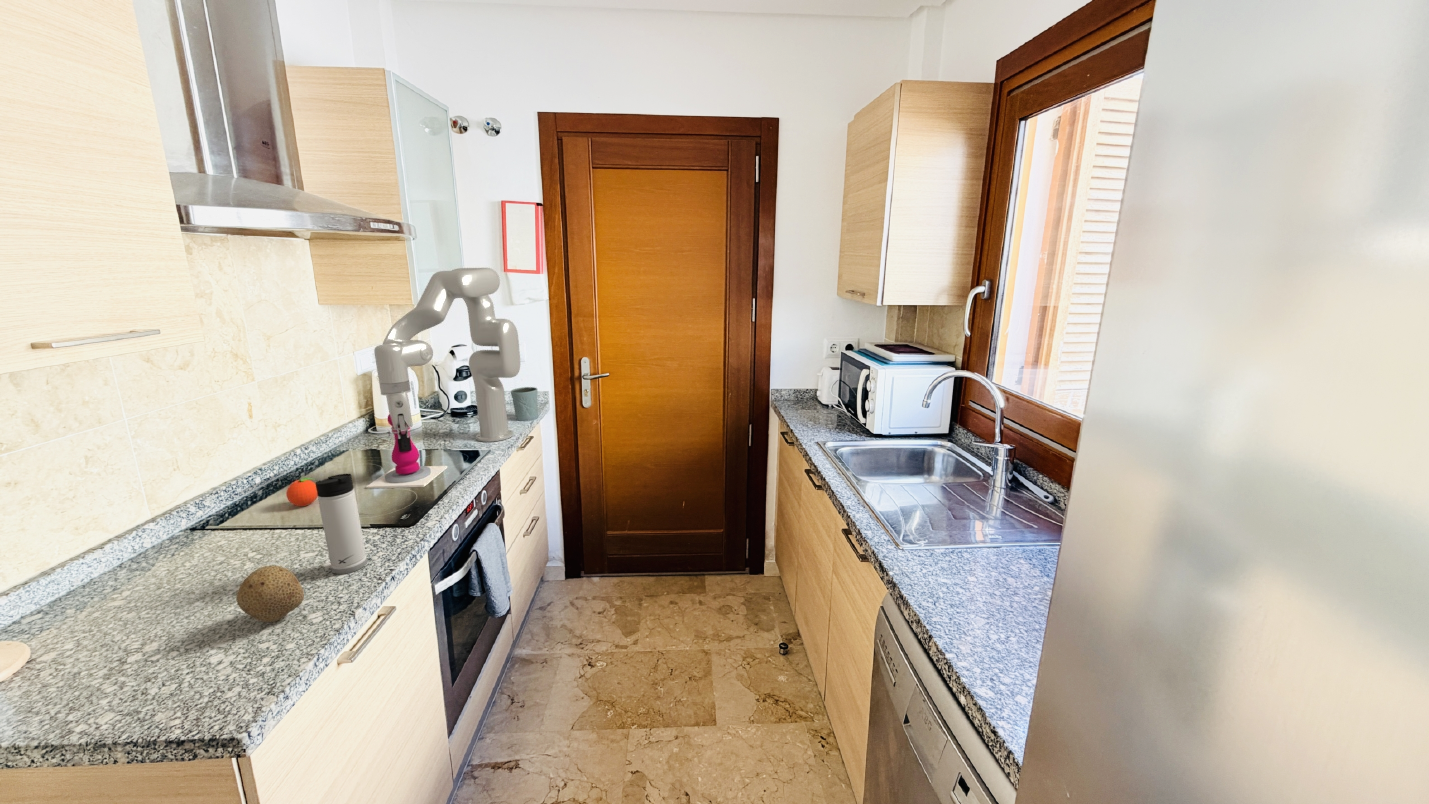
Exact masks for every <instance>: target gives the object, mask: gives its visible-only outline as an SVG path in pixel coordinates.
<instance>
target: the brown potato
mask: <svg viewBox="0 0 1429 804" xmlns="http://www.w3.org/2000/svg"><path fill="white" fill-rule="evenodd" d="M304 592H305V591H304V590H303V587H302V584H301V583H300V581H299V580H298V578H297V577H296V575H295V574H294V573H293V572H292V571H291V570H289V569H288V568H286V567H284V566H279V565H278V566H277V565H264V566H262V567H259V568H257V569H255V570H254V571H252V572H251V573H250V574H249V575H247V577H245V579H244V580H243V581H242V582H241V584H240V585H239V587H238V590H237V592H236V593H237V594H236V603H237V606H238V607H239V608H240V609H241V611H242V612H244V613H245V614H246V615H248V616H250V617H251V618H253V619H255V620H257V621H259V622H263V623H274V622H277V621H280V620H282V619H283V618H285V617H286V616H287V615H288V614H289V613H291V612H292V611H294V610H295V609H297V608H298V607H299V606H301V604H302V603H303V601H304V599H305V597H304V596H305V593H304Z"/></svg>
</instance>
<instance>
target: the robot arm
mask: <svg viewBox="0 0 1429 804" xmlns="http://www.w3.org/2000/svg"><path fill="white" fill-rule="evenodd" d="M499 276H500V275H499V274H498V272H497V271H496V270H495V269H493V268H490V267H459V268H454V269H452V270H440V271H437V272H434V273H433V274H432V276H431V277H430V279H429V280H428V282H427V285H426V287H425V289H424V291H423V292H422V294H421V297H420V298H419V300H418V302H417V304H416V305H415V307H413V309H412V310H410V311H408V312H407V313H406V314H405V315H403V316H401V318H399V319H398V320H396V322H395V323H394V324H393V325H392V326H391V327H390V329H389V331H388V332H387V334H386V336H385V338H384V340H383V342H382V344H379V345H376V346H375V347H374V349H373V352H374V359H375V365H376V370H377V371H376V372H377V376H378V378H377V379H378V383H379V391H380V395H381V396H386V402H387V408H388V415H389V414H390V417H391V420H392V424H393V427H394V428H395V429H397V434H398V439H397V440H398V447H399V452H406V451H411V450H412V447H411V441H410V438H411V436H410V437H409V433H408V427H407V425H408V426H410V428H412V427H413V425H414V424H413V418H412V413H411V408H410V407H411V406H410V400H409V396H408V393H410V392H411V391H412V390H411V382H410V378H409V369H408V368H409V367H420V366H425V365H427V364H429V363H430V362H431V360H433V359H432V358H433V356H434V350H433V347H432V346H431V345H430V344H429V342H428V341H427V342H426V341H423V340H418V339H413V338H415V336H416V335H418V334H420V333H421V332H423V331H426V330H428V329H432V328H433V327H436V326H438V325H440V324H442V322H444V321H445V320H446V317H447V315H448V312H449V311H450V309H451V307H452V305H453V302H454V301H455V299H462V300H463V302H464V303H465V305H466V308H467V315H468V322H469V323H468V326H469V332H470V338H471V342H472V343H473V344H474V345H476V346H481V347H498V350H497V349H480V350H476V351H474V352H472V354H471V355H470V356H469V359H468V366H469V371H470V373H471V376H472V380H473V385H474V391H475V400H476V408H477V417H478V418H477V419H478V424H479V426H478V427H479V433H478V434H476V435H475V439H476V441H479V442H485V443H488V442H489V443H490V442H499V441H504V440H508V439H510V438H511V437H513V436H514V432H513V430H510V429H509V421H508V417H507V416H508V415H507V407H506V397H505V388H504V385H503V382H502V381H501V380H500V378H503V379H504V378H505V379H509V378H514V377H516V376H517V375H518V374H519V372H520V369H521V354H520V352H521V351H520V342H519V334H518V333H519V332H518V330H517V326H516V325H515V324H514V322H513V321H511V320H510V319H506V318H496V314H495V307H494V303H493V300H492V298H491V297H490V295H493V294H494V293H496V292H497V291H498V289H499V288H500V284H501V279H500V277H499ZM398 419H399V420H398ZM397 423H398V424H397ZM405 425H406V427H405ZM398 426H400V428H398ZM399 430H401V431H400V432H399Z"/></svg>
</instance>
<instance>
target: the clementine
mask: <svg viewBox="0 0 1429 804" xmlns="http://www.w3.org/2000/svg"><path fill="white" fill-rule="evenodd" d="M314 481H317V479H315V478H314ZM315 483H316V482H313V480H312V478H311V477H310V478H303V479H302V478H301V479H298V480H295V481H293V482H292V483H291V484H289V486H288V488H287V489H286V493H285V494H286V498H287V500H288V502H289V503H290V504H292V505H294V506H296V507H306V506H309V505H311V504H313V503H314V502H315V501H316V500H317V499H318V496H317V489H316V484H315Z"/></svg>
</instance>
